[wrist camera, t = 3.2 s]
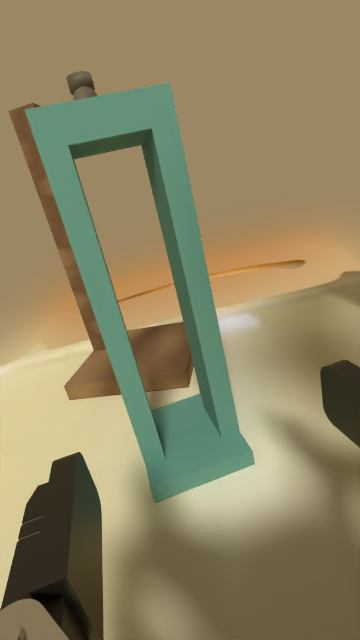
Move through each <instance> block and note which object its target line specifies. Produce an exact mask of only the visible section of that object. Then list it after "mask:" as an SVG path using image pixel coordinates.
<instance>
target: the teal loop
mask: <svg viewBox="0 0 360 640" xmlns="http://www.w3.org/2000/svg"><path fill="white" fill-rule="evenodd" d="M25 113H26V116H27V118H28V121H29V124H30V127H31V130H32V133H33V136H34V139H35V142H36V145H37V148H38V151H39V154H40V157H41V160H42V162H43V165H44V168H45V171H46V174H47V177H48V180H49V183H50V186H51V189H52V192H53V195H54V198H55V201H56V203H57V206H58V209H59V212H60V215H61V218H62V221H63V224H64V227H65V230H66V233H67V236H68V239H69V242H70V245H71V247H72V250H73V253H74V256H75V259H76V262H77V265H78V268H79V271H80V274H81V277H82V280H83V283H84V286H85V288H86V291H87V294H88V297H89V300H90V303H91V306H92V309H93V312H94V315H95V318H96V321H97V324H98V327H99V330H100V332H101V335H102V338H103V341H104V344H105V347H106V350H107V353H108V356H109V359H110V362H111V365H112V368H113V371H114V373H115V376H116V379H117V382H118V385H119V388H120V391H121V394H122V397H123V400H124V403H125V406H126V409H127V412H128V414H129V417H130V420H131V423H132V426H133V429H134V432H135V435H136V438H137V441H138V444H139V447H140V450H141V453H142V456H143V458H144V461H145V464H146V468H147V473H148V478H149V483H150V488H151V491H152V494H153V497H154V500H155V503H156V502H159V501H161V500H164V499H166V498H169V497H171V496H174V495H177V494H179V493H182V492H184V491H187V490H189V489H192V488H194V487H197V486H200V485H202V484H205V483H207V482H210V481H212V480H215V479H218V478H220V477H223V476H225V475H228V474H230V473H233V472H235V471H238V470H241V469H243V468H246V467H248V466H251V465H253V464H255V463H254V458H253V452H252V450H251V448H250V447H249V445H248V444H247V442H246V441H245V439H244V438H243V436H242V435H241V433H240V431H239V426H238V421H237V416H236V411H235V406H234V401H233V396H232V391H231V386H230V381H229V376H228V371H227V366H226V361H225V356H224V351H223V346H222V341H221V336H220V331H219V326H218V321H217V316H216V311H215V306H214V301H213V296H212V291H211V286H210V281H209V276H208V270H207V266H206V261H205V255H204V250H203V245H202V240H201V235H200V230H199V225H198V220H197V216H196V210H195V206H194V200H193V196H192V190H191V185H190V181H189V175H188V170H187V165H186V160H185V155H184V150H183V145H182V140H181V135H180V130H179V125H178V120H177V115H176V110H175V105H174V100H173V95H172V90H171V85H170V83H166V84H160V85H156V86H149V87H145V88H139V89H134V90H128V91H122V92H117V93H112V94H106V95H101V96H95V97H90V98H85V99H79V100H74V101H68V102H63V103H57V104H52V105H47V106H41V107H36V108H30V109H25ZM138 145H141V146H142V150H143V154H144V159H145V163H146V167H147V171H148V175H149V179H150V183H151V187H152V192H153V196H154V200H155V205H156V208H157V213H158V217H159V221H160V225H161V229H162V233H163V238H164V242H165V246H166V250H167V255H168V259H169V263H170V267H171V271H172V275H173V280H174V284H175V288H176V292H177V297H178V300H179V305H180V309H181V313H182V317H183V322H184V326H185V330H186V334H187V338H188V343H189V347H190V351H191V355H192V359H193V363H194V368H195V372H196V376H197V380H198V384H199V389H200V393H201V394H198V395H195V396H192V397H189V398H186V399H183V400H181V401H178V402H175V403H172V404H169V405H166V406H163V407H160V408H157V409H154V410H152V411H151V408H150V405H149V401H148V398H147V395H146V392H145V388H144V385H143V382H142V379H141V375H140V372H139V369H138V366H137V363H136V359H135V356H134V353H133V350H132V346H131V343H130V340H129V337H128V333H127V330H126V327H125V324H124V321H123V317H122V314H121V311H120V308H119V305H118V301H117V298H116V295H115V291H114V288H113V285H112V282H111V279H110V275H109V272H108V269H107V266H106V262H105V259H104V256H103V253H102V249H101V246H100V243H99V240H98V236H97V233H96V230H95V227H94V224H93V220H92V217H91V214H90V211H89V207H88V204H87V201H86V198H85V195H84V191H83V188H82V185H81V182H80V179H79V175H78V172H77V169H76V165H75V162H74V159H78V158H82V157H87V156H92V155H97V154H101V153H106V152H110V151H115V150H120V149H124V148H130V147H134V146H138Z"/></svg>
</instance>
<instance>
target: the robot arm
mask: <svg viewBox="0 0 360 640" xmlns="http://www.w3.org/2000/svg"><path fill="white" fill-rule="evenodd" d="M321 386H322V398H323V407H324V411H325V413H326V415H327V417H328V419H329V420H330V422H331V423H332V424H333V425H334V426H335V427H337V428H338V429H339V430H340V431H341V432H342V433H343V434H345V435H346V436H347V437H348V438H349V439H350V440H351V441H353V442H354V443H355V444H356V445H357V446H358V447H360V367H358V366H356V365H355V364H353V363H351V362H349V361H347V360H341V361H339V362H336V363H333V364H330V365H327V366H324V367H322V369H321ZM22 524H23V525H22V526H21V529H20V533H19V537H18V539H19V542H17V545H16V549H15V553H14V557H13V561H12V565H11V569H10V574H9V578H8V582H7V586H6V590H5V594H4V598H3V602H2V606H1V609H0V640H104V638H103V577H102V515H101V504H100V499H99V495H98V492H97V489H96V486H95V484H94V482H93V479H92V477H91V475H90V472H89V470H88V467H87V465H86V463H85V460H84V458H83V456H82V454H81V453H80V452H77V453H75V454H72V455H69V456H66V457H63V458H60V459H58V460H55V461H53V463H52V467H51V473H50V478H49V482H48V483H45V484H42V485H39V486H38V487H37V488H36V490H35V491H34V493H33V495H32V496H31V498H30V499H29V501H28V503H27V504H26V508H25V512H24V516H23V521H22Z"/></svg>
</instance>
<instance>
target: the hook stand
mask: <svg viewBox="0 0 360 640" xmlns="http://www.w3.org/2000/svg"><path fill="white" fill-rule="evenodd" d="M67 82H68V86H69V89H70V92H71V94H72V95H74V97H73V99H74V100H79V99H85V98H90V97H95V96H97V94H96V93H95V91H94V90H95V88H94V84H93V80H92V77H91V74H90V73H89V72H84V71H80V72H75V73H72V74H70V75H69V76H68V77H67ZM36 107H41V106H39V105H36V104H34V103H31V104H28V105H26V106H23V107H20V108H17V109H14V110H11V111H9V114H10V117H11V119H12V122H13V125H14V128H15V131H16V133H17V136H18V139H19V142H20V145H21V147H22V150H23V153H24V156H25V159H26V161H27V164H28V167H29V170H30V173H31V175H32V178H33V181H34V184H35V187H36V189H37V192H38V195H39V198H40V200H41V204H42V206H43V209H44V212H45V215H46V217H47V220H48V223H49V226H50V229H51V232H52V234H53V237H54V240H55V242H56V245H57V248H58V251H59V254H60V257H61V260H62V262H63V265H64V268H65V271H66V273H67V276H68V279H69V282H70V285H71V287H72V290H73V293H74V296H75V299H76V302H77V304H78V307H79V310H80V313H81V315H82V318H83V321H84V324H85V327H86V330H87V332H88V335H89V338H90V341H91V344H92V346H93V349H94V351H93V352H92V353H91V355H90V356H89V357H88V358H87V359H86V361H85V362H84V363H83V364H82V365H81V367H80V368H79V369H78V370H77V371H76V373H75V374H74V375H73V376H72V377H71V379H70V380H69V381H68V382H67V383H66V385H65V386H64V387H65V390H66V392H67V395H68V397H69V400H72V399H81V398H91V397H100V396H109V395H118V394H121V391H120V388H119V385H118V382H117V379H116V376H115V373H114V371H113V368H112V365H111V362H110V359H109V356H108V353H107V350H106V347H105V344H104V341H103V338H102V335H101V332H100V330H99V327H98V324H97V321H96V318H95V315H94V312H93V309H92V306H91V303H90V300H89V297H88V294H87V291H86V288H85V286H84V283H83V280H82V277H81V274H80V271H79V268H78V265H77V262H76V259H75V256H74V253H73V250H72V247H71V245H70V242H69V239H68V236H67V233H66V230H65V227H64V224H63V221H62V218H61V215H60V212H59V209H58V206H57V203H56V201H55V198H54V195H53V192H52V189H51V186H50V183H49V180H48V177H47V174H46V171H45V168H44V165H43V162H42V160H41V157H40V154H39V151H38V148H37V145H36V142H35V139H34V136H33V133H32V130H31V127H30V124H29V121H28V118H27V116H26V113H25V109H30V108H36ZM127 333H128V337H129V340H130V343H131V346H132V350H133V353H134V356H135V359H136V363H137V366H138V369H139V372H140V375H141V379H142V382H143V385H144V388H145V392H146V391H156V390H165V389H174V388H183V387H189V383H190V379H191V374H192V370H193V365H194V363H193V359H192V355H191V351H190V347H189V343H188V338H187V334H186V330H185V326H184V322H180V323H174V324H167V325H161V326H154V327H148V328H141V329H135V330H128V331H127Z"/></svg>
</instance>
